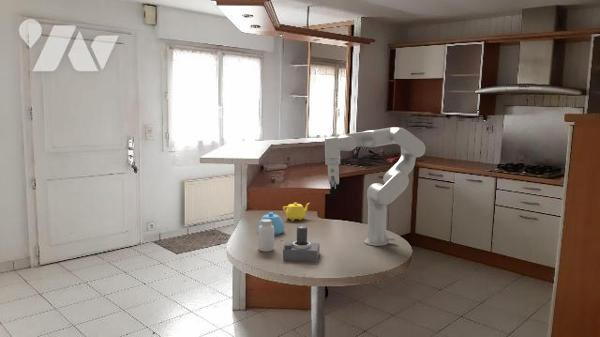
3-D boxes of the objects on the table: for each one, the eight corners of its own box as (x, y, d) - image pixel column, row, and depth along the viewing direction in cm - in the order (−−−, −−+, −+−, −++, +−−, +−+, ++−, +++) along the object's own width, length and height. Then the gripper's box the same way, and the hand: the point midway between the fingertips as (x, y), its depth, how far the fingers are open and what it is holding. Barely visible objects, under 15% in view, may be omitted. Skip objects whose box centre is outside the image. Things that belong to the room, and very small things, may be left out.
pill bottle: (268, 252, 228) (268, 223, 226) (255, 250, 232) (254, 220, 230) (277, 248, 235) (277, 219, 232) (264, 246, 239) (264, 217, 237)
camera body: (319, 253, 228) (319, 240, 227) (316, 261, 216) (316, 247, 215) (287, 251, 230) (287, 238, 229) (282, 259, 218) (282, 245, 217)
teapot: (307, 216, 302) (307, 200, 301) (312, 220, 292) (312, 203, 290) (280, 218, 298) (280, 201, 296) (284, 222, 287) (284, 205, 286)
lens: (307, 244, 224) (307, 226, 223) (306, 248, 219) (306, 229, 218) (297, 244, 225) (297, 225, 224) (295, 247, 220) (296, 228, 219)
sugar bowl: (268, 237, 254) (268, 217, 252) (252, 232, 265) (252, 212, 264) (289, 232, 263) (289, 213, 262) (273, 227, 275) (273, 208, 273)
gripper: (339, 163, 224) (340, 198, 227) (340, 158, 241) (341, 191, 244) (324, 163, 225) (325, 198, 228) (326, 159, 242) (327, 191, 245)
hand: (333, 194), depth 236 cm, fingers open, 9 cm apart
